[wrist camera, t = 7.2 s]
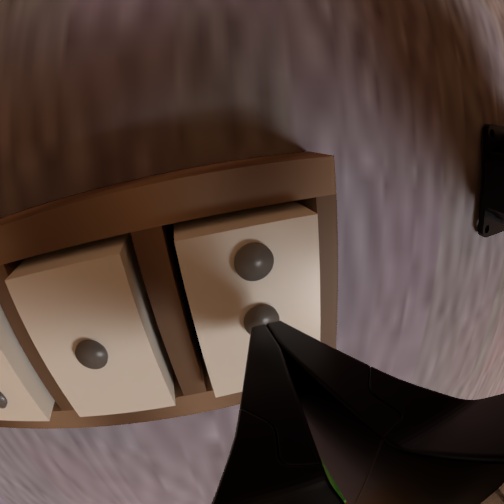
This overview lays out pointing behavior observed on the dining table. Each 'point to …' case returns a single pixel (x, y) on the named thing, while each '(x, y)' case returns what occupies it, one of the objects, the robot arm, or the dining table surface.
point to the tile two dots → (20, 382)
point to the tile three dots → (248, 281)
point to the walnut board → (169, 258)
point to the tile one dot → (95, 326)
